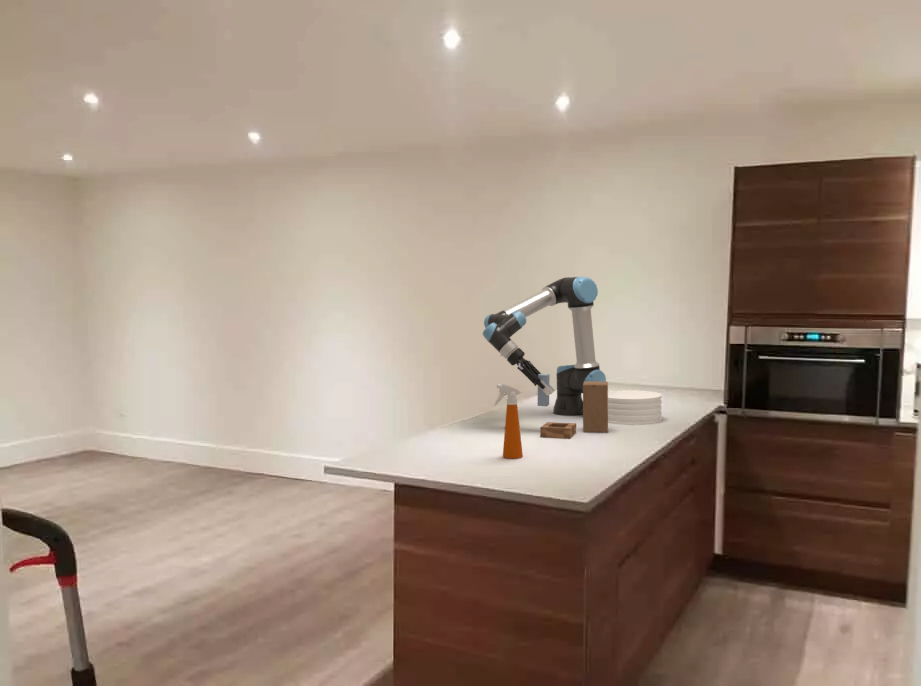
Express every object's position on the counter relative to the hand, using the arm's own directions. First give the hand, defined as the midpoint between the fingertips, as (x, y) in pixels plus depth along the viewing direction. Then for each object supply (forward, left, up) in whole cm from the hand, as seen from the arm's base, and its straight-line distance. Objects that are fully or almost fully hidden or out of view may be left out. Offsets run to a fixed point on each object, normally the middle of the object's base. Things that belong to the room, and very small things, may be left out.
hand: (551, 392), depth 312 cm
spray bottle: (+29, +43, -16) cm, 54 cm away
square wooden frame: (0, +9, -16) cm, 18 cm away
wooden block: (-18, +3, -16) cm, 25 cm away
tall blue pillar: (+3, -2, -5) cm, 7 cm away
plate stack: (-42, -18, -17) cm, 48 cm away
